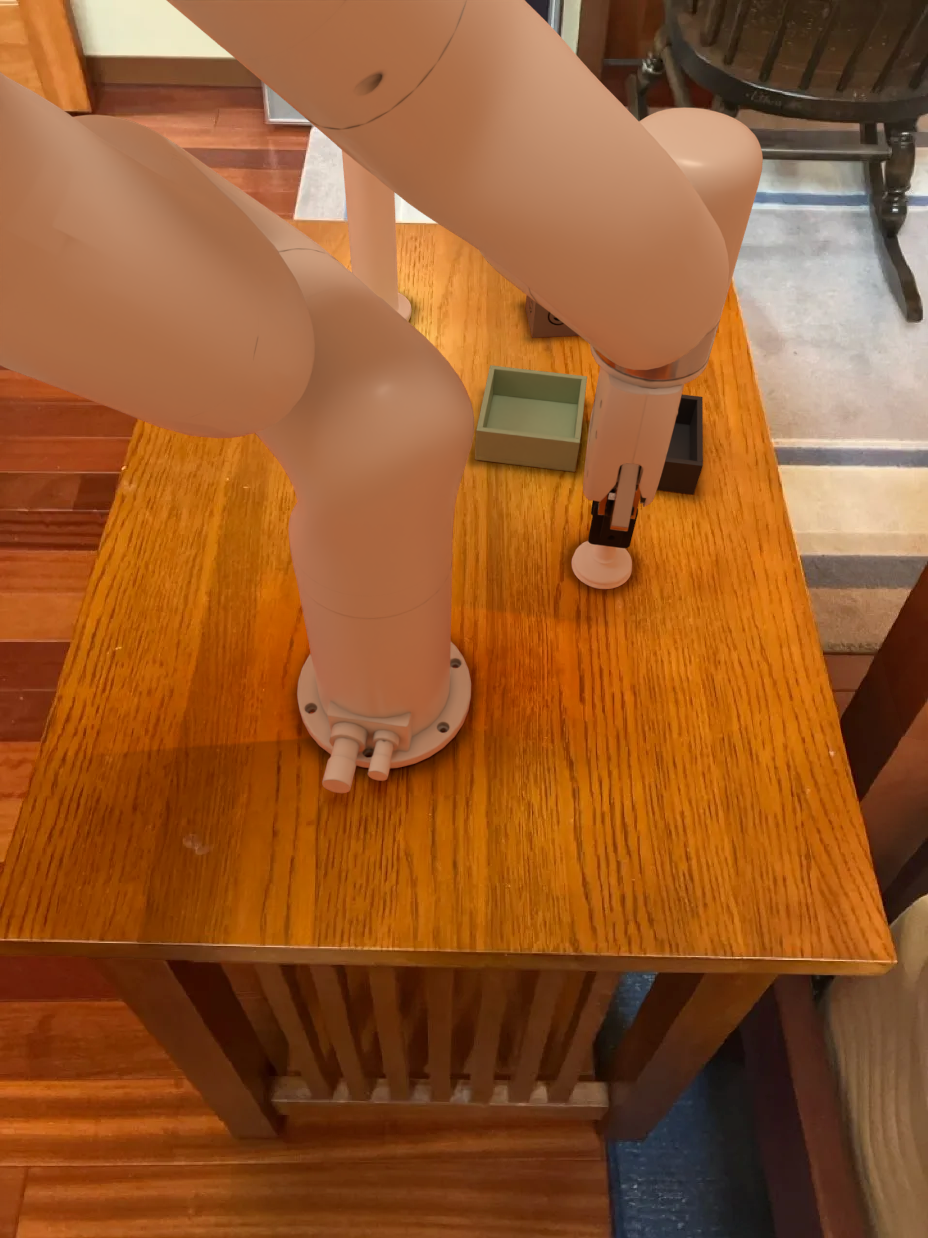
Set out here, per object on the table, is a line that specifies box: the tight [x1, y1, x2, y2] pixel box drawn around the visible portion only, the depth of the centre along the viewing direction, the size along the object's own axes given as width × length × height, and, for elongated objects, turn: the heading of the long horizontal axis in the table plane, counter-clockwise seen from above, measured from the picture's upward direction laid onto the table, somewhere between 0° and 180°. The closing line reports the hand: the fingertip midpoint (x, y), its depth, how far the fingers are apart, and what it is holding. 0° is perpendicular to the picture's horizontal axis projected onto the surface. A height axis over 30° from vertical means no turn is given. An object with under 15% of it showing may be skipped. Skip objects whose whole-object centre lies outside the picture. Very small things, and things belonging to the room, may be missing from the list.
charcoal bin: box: [657, 393, 704, 495], centre depth 83 cm, size 9×9×4 cm
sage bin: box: [474, 364, 588, 473], centre depth 84 cm, size 9×9×4 cm
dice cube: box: [524, 294, 580, 339], centre depth 94 cm, size 5×5×5 cm
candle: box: [341, 150, 412, 322], centre depth 86 cm, size 7×7×25 cm
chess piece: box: [571, 493, 633, 590], centre depth 72 cm, size 5×5×10 cm
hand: (609, 528), depth 73 cm, fingers closed on chess piece
